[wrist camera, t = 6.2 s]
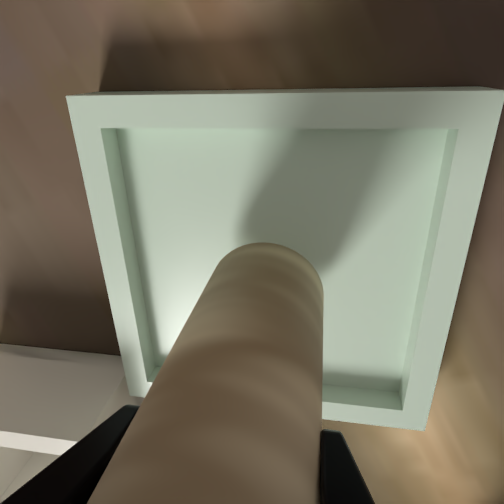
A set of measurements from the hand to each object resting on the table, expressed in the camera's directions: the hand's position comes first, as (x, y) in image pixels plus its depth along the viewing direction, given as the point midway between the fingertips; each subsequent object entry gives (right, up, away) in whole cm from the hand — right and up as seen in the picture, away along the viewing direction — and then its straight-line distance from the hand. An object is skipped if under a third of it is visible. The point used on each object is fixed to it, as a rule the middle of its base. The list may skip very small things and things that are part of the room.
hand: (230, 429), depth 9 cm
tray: (+1, +4, +7) cm, 8 cm away
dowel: (+1, +2, +5) cm, 6 cm away
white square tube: (-9, -5, +14) cm, 17 cm away
